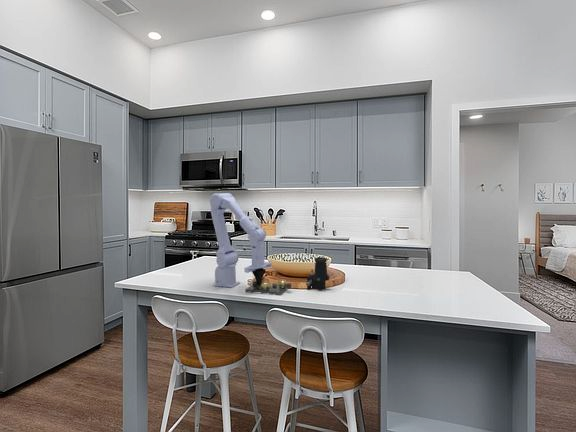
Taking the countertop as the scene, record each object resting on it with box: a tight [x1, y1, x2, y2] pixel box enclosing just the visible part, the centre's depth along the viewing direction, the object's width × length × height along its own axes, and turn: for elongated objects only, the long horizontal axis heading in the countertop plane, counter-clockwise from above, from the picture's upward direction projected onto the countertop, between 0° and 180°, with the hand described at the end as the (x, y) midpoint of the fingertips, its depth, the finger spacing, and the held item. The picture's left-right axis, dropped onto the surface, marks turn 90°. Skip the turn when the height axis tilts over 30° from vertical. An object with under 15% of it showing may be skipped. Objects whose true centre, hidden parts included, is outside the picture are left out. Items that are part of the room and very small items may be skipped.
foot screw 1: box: [251, 277, 257, 286], centre depth 151 cm, size 7×4×2 cm, turn 171°
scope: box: [305, 256, 331, 291], centre depth 149 cm, size 8×14×10 cm
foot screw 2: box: [278, 279, 292, 289], centre depth 147 cm, size 7×4×2 cm, turn 40°
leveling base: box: [245, 282, 290, 296], centre depth 149 cm, size 17×11×2 cm, turn 70°
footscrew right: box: [261, 281, 278, 290], centre depth 145 cm, size 7×4×2 cm, turn 69°
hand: (259, 285), depth 149 cm, fingers closed, pressing on foot screw 1
